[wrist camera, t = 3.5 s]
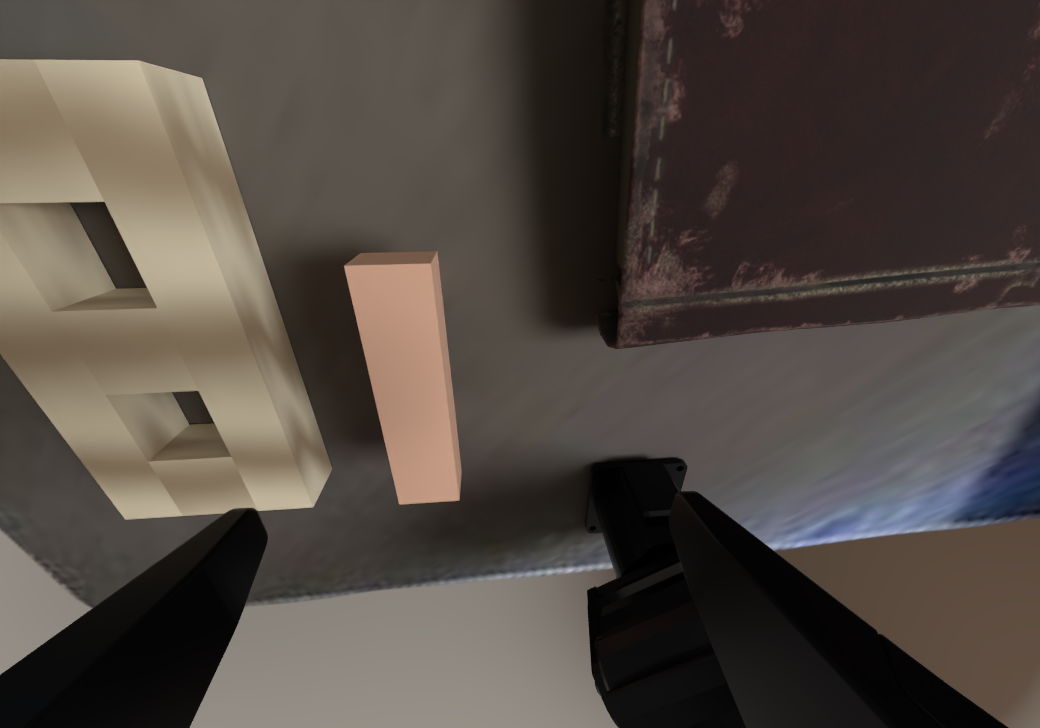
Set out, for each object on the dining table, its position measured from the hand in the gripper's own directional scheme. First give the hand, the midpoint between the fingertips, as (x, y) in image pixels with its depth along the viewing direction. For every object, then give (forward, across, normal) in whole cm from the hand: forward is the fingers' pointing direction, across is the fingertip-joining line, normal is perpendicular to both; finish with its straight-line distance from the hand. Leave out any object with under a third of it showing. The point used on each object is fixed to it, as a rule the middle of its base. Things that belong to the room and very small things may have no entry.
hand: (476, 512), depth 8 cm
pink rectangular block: (+13, +3, +3) cm, 14 cm away
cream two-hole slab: (+13, +15, +1) cm, 20 cm away
